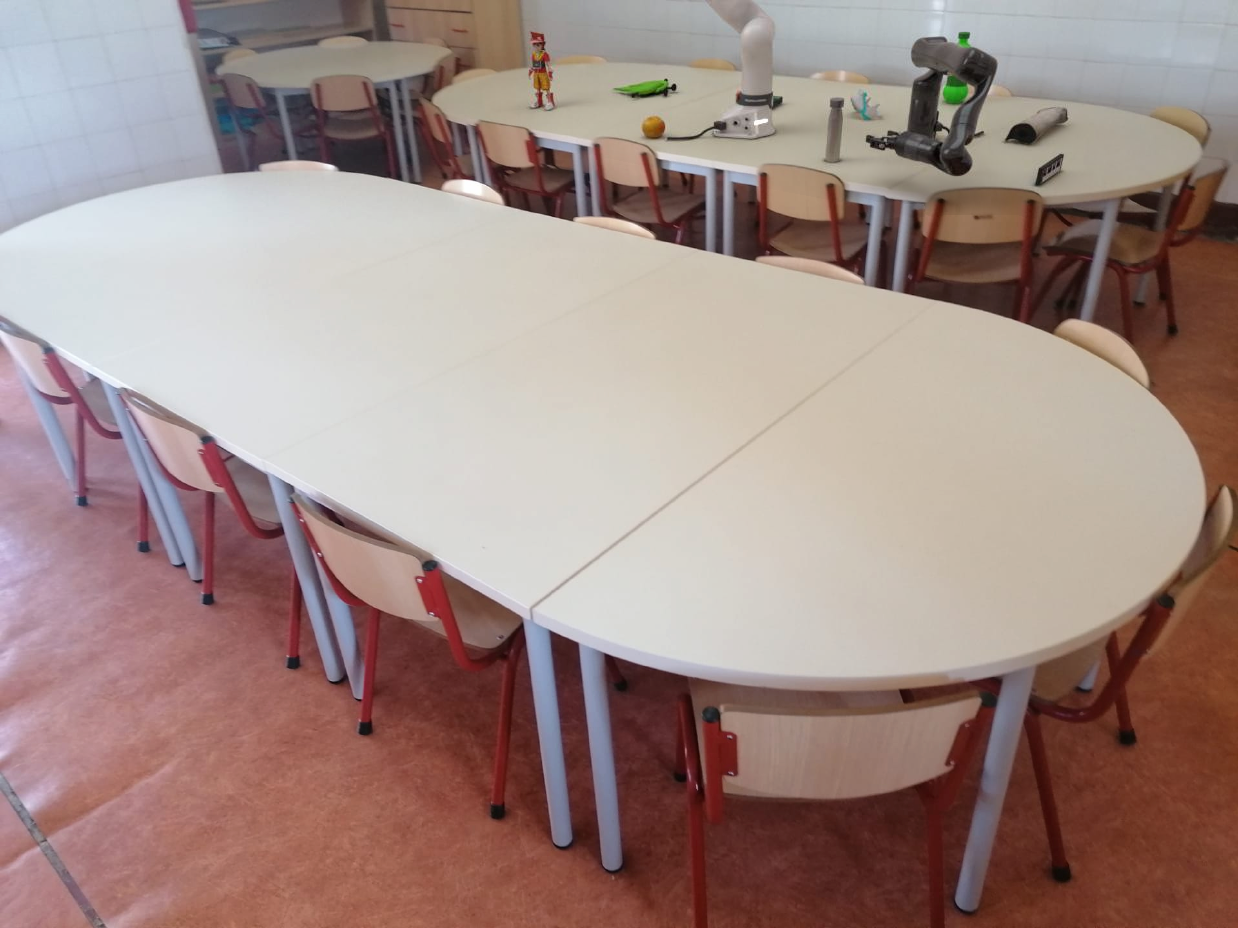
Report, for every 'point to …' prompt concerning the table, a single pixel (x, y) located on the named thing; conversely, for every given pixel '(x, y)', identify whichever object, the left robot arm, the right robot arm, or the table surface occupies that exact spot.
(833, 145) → the bottle
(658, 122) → the fruit
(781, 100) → the disk drive
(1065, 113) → the rolled mat
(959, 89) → the plastic bottle
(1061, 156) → the midi keyboard
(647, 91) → the toy
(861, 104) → the anatomical model
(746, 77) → the left robot arm
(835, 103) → the cap
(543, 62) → the toy
